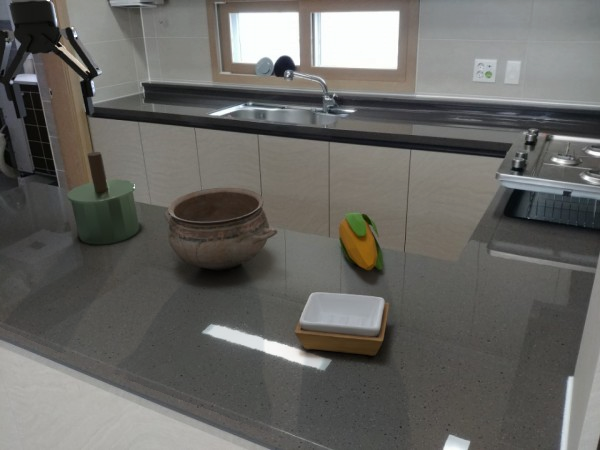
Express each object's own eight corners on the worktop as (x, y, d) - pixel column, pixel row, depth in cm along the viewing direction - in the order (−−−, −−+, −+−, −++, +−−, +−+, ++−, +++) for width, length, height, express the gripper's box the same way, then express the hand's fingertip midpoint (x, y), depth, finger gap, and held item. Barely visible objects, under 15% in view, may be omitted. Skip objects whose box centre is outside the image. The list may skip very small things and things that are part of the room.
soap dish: (388, 323, 83) (389, 295, 81) (382, 363, 74) (383, 332, 72) (309, 315, 85) (308, 288, 83) (295, 353, 77) (293, 323, 75)
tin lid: (54, 201, 113) (44, 159, 110) (103, 181, 124) (96, 142, 121) (101, 210, 107) (92, 166, 104) (148, 188, 118) (142, 148, 115)
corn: (369, 201, 109) (392, 242, 91) (371, 234, 112) (394, 281, 94) (333, 205, 109) (349, 248, 91) (336, 239, 112) (352, 287, 94)
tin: (67, 238, 117) (57, 198, 113) (110, 218, 127) (102, 180, 123) (109, 248, 112) (100, 206, 108) (151, 226, 122) (144, 186, 118)
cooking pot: (302, 253, 106) (300, 195, 101) (250, 299, 91) (244, 234, 86) (201, 233, 117) (194, 180, 112) (139, 271, 102) (129, 211, 97)
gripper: (-50, 4, 95) (-17, 122, 104) (92, -3, 96) (113, 116, 104) (-28, 3, 102) (2, 114, 110) (104, -3, 103) (123, 108, 111)
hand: (56, 115), depth 107 cm, fingers open, 13 cm apart
